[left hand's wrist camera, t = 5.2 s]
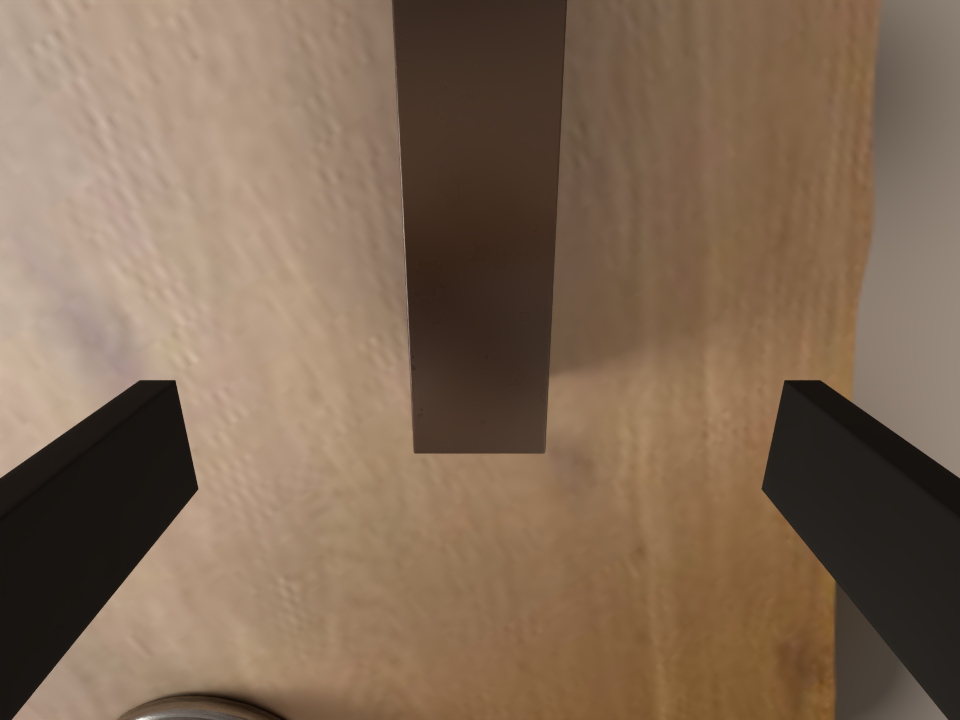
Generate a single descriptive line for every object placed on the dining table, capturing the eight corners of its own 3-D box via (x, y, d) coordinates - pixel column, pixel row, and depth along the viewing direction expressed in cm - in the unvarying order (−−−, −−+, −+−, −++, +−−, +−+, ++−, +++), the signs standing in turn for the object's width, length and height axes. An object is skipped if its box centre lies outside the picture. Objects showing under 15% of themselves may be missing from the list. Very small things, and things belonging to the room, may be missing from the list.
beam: (530, 381, 28) (545, 454, 21) (429, 381, 28) (413, 454, 21) (561, -528, 17) (612, -941, 11) (396, -529, 17) (346, -941, 11)
